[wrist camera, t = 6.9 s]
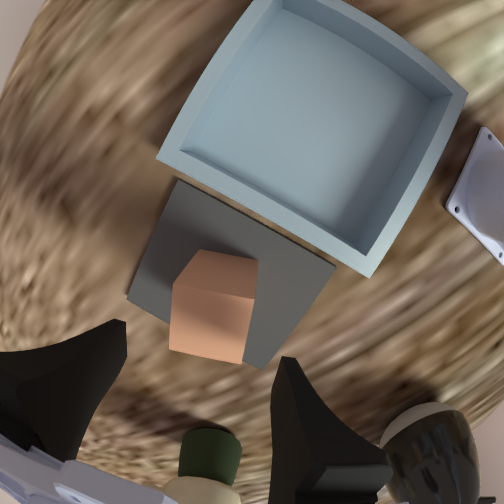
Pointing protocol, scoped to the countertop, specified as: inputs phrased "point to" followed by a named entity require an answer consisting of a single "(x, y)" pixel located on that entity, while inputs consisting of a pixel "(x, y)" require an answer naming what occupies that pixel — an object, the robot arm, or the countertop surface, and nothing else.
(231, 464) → the character mug
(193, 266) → the block
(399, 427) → the dark grey dome figure
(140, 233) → the countertop surface
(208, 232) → the mat
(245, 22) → the bin
